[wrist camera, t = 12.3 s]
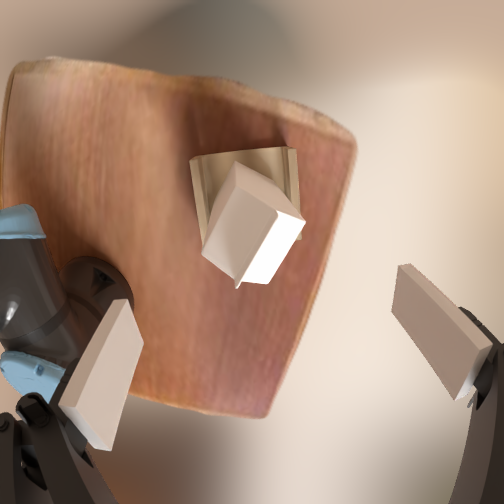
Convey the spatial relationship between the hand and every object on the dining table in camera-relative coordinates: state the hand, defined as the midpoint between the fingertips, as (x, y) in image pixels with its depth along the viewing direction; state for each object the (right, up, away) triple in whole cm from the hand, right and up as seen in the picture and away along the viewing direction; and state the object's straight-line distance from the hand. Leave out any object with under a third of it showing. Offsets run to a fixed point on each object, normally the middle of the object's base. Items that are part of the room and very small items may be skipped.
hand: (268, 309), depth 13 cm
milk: (-2, +11, +26) cm, 29 cm away
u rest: (-2, +12, +27) cm, 29 cm away
